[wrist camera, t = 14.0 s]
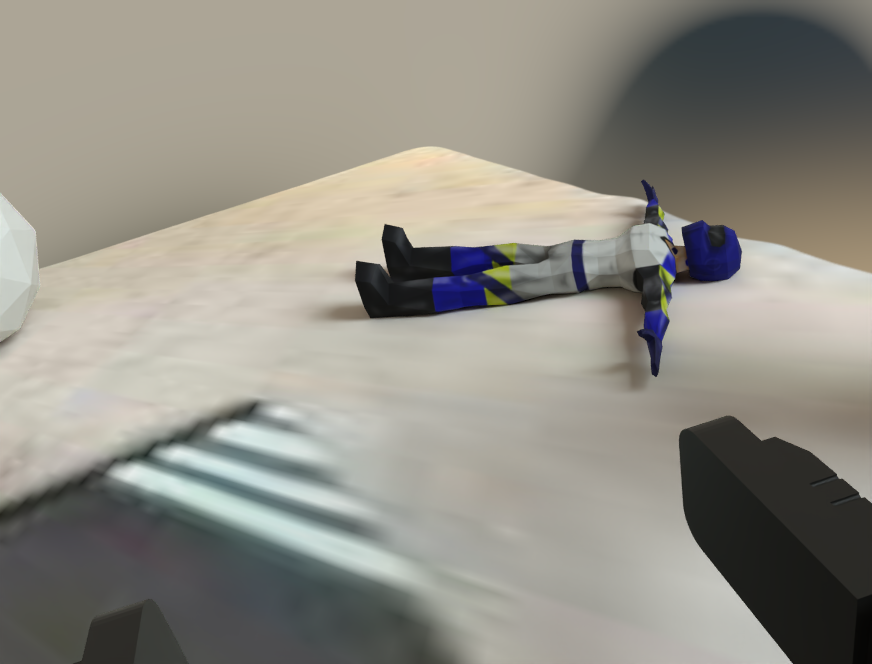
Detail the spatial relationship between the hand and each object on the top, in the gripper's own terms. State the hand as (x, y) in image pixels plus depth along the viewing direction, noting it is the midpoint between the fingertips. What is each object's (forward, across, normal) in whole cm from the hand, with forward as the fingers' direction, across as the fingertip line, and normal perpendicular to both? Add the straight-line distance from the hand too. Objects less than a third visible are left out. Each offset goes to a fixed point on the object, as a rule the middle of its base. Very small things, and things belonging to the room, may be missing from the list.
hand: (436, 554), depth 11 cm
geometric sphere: (+67, +37, +19) cm, 79 cm away
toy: (+47, -17, +20) cm, 54 cm away
